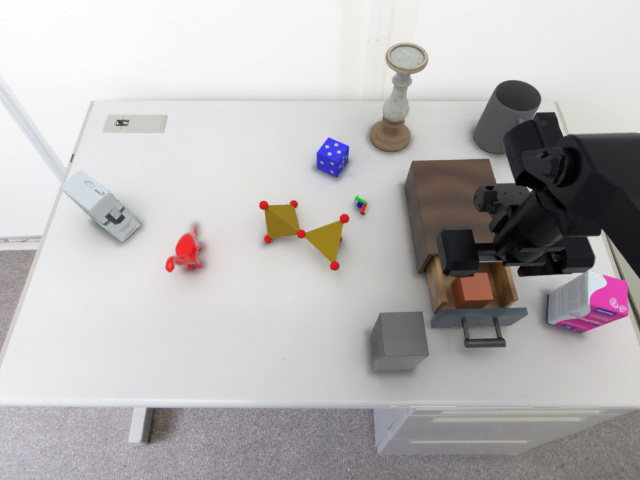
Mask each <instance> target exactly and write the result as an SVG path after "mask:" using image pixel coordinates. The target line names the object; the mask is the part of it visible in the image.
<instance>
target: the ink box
mask: <svg viewBox="0 0 640 480" xmlns="http://www.w3.org/2000/svg"><path fill="white" fill-rule="evenodd" d="M58 189H60V190H61V192H63V193H64V194H66V196H67V197H68V198H69V199H70V200H72V201H73V202H74V203H75V204H76V205H77V206H78V207H79V208H80V209H81V210H82V211H83V212H84V213H85V214H87V215H88V216H89V217H90V219H92V220H93V221H94V222H95V223H96V224H98V225H99V226H100V227H101V228H103V229H104V230H105V231H107V232H108V233H109V234H111V235H112V236H113V237H114V238H116V239H117V240H119V242H121V243H123V242H125V241H126V240H127V239H128V238H129V237H130V236H131V235H132V234H133V233H135V231H137V230H138V228H139V229H140V227H141V224H140V222H138V220H137V219H136V218H135V217H134V216H133V215H132V214H131V213H130V212H129V210H128V209H127V208H126V207H125V205H123V204H122V202H120V200H119V199H118V198H117V197H116V196H115V195H114V194H113V192H112V191H111V190H109V188H107V187H106V186H105V185H103V184H102V183H100V182H99V181H97V180H96V179H95V178H93V177H92V176H90V175H89V174H88V173H87V172H85V171H84V170H83V169H80V170H78V171H77V172H76V173H74V174H73V175H72V176H71V177H70V178H68V180H66V181H64V183H63V184H61V185H60V186H59V188H58Z"/></svg>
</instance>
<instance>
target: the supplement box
mask: <svg viewBox="0 0 640 480" xmlns="http://www.w3.org/2000/svg"><path fill="white" fill-rule="evenodd" d="M628 293H629V292H628V280H625V279H621V278H617V277H613V276H609V275H606V274H603V273H598V272H594V271H591V270H588V271H586V272H585V273H580V274H579V275H578V276H576V277H575V278H573V279H571V280H569V281H568V282H566V283H564V284H563V285H561V286H559V287H557V288H556V289H554V290H553V291H551V292H549V293H548V294H547V303H546V304H547V305H546V319H545V323H546V324H547V325H552V326H554V327H555V326H556V327H559V328H562V329H565V330H569V331H572V332H575V333H578V334H583V333H585V332H588V331H591V330H594V329H596V328H599V327H602V326H605V325H608V324H610V323H613V322H615V321H619V320H621V319H624V318H626V317H629V301H628V297H629V296H628Z"/></svg>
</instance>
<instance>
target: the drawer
mask: <svg viewBox="0 0 640 480" xmlns="http://www.w3.org/2000/svg"><path fill="white" fill-rule="evenodd" d="M484 256H485V255H484ZM487 256H488V255H487ZM490 256H491V255H490ZM493 256H494V255H493ZM426 271H427V273H426V276H427V282H428V289H429V294H430V300H431V307H432V312H433V313H436V314H435V315H434V316H433V317H432V318H431V319H430V328H462V331H463V335H464V339H463V346H464V348H465V349H489V348H491V349H492V348H495V349H496V348H506V347H507V341H506V338H505V337H503V335H502V331H501V327H511V326H512V325H514V324H516V323H517V322H519V321H521V320H523V319H524V318H526V317H527V316H529V311H528V308H527V307H524V306H523V307H522V306H521V307H511V306H512V305H514V304H515V303H517V302H518V301H519V300H520V299H519V295H518V292H517V288H516V285H515V281H514V277H513V273H512V271H511V266H510V267H504V266H503V263H502V262H479V269H478V271H477V272H476V273H487V275H488V279H489V282H490V286H491V290H492V294H493V298H494V300H492V301H491V302H490V303H489V304H488V305H486V306H485V307H484V308H475V309H456V306H455V301H454V296H453V291H452V286H451V283H452V282H453V281H454V280H455V278H456V277H453V276H446V275H445V274H444V273H442V268H441V263H440V258H439V256H431V258H430V260H429V262H428V263H427V265H426ZM472 327H475V328H476V327H494V331H495V335H496V337H488V338H487V337H486V338H485V337H484V338H483V337H482V338H481V337H480V338H471V337H470V331H469V328H472Z"/></svg>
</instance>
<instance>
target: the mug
mask: <svg viewBox="0 0 640 480" xmlns="http://www.w3.org/2000/svg"><path fill="white" fill-rule="evenodd" d="M541 104H542V94H541V93H540V92H539V90H538V89H537V88H536V87H535V86H534V85H532V84H530V83H528V82H526V81H523V80H518V79H509V80H508V79H507V80H504V81H502V82H499V84H497V86H496V87H495V88H494V90H493V92H492V94H491V95H490V97H489V98H488V101H487V103H486V105H485V107H484V109H483V111H482V113H481V115H480V118H479V120H478V122H477V124H476V126H475V129H474V132H473V140H474V142H475V144H476V145H477V146H478V147H479V148H480V149H482V150H483V151H485V152H488V153H491V154H506V153H505V150H504V147H503V144H502V140H503V137H504V135H505V134H506V132H508V131H510V130H511V129H512V128H514V127H515V126H517V125H519V124H521V123H523V122H525V121H528V120H531V119H533V117H534V116H535V114H536V113H537V112H538V109H539V108H540V106H541Z"/></svg>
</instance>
